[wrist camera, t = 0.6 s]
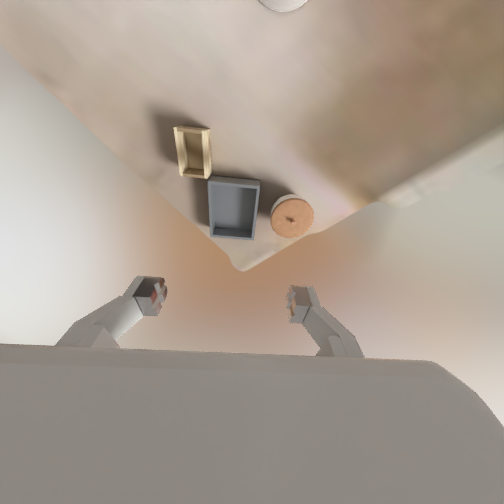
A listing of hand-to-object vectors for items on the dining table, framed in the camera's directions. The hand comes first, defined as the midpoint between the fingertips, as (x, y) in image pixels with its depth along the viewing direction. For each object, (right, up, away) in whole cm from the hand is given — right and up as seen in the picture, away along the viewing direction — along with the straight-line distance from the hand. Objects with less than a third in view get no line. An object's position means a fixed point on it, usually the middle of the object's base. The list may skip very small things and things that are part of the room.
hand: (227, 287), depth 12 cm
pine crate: (-11, +26, +30) cm, 42 cm away
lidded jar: (+12, +15, +39) cm, 44 cm away
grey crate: (-3, +15, +39) cm, 42 cm away
